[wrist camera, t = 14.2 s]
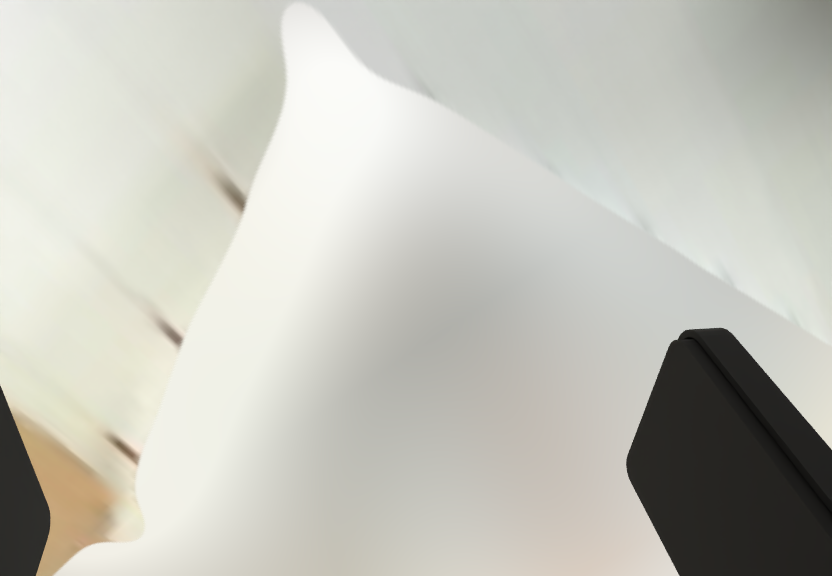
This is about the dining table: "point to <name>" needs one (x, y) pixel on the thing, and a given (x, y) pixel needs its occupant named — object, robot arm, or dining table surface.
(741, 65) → the dining table surface
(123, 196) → the dining table surface
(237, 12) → the dining table surface
